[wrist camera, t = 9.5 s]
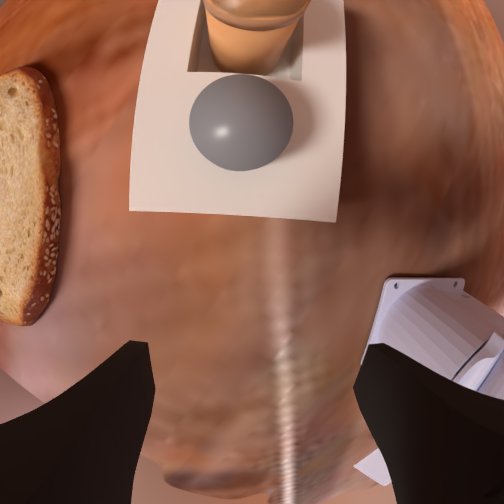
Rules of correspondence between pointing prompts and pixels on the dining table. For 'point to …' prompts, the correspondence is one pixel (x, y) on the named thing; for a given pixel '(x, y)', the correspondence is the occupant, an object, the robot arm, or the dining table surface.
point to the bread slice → (28, 194)
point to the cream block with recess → (240, 121)
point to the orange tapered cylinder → (251, 32)
